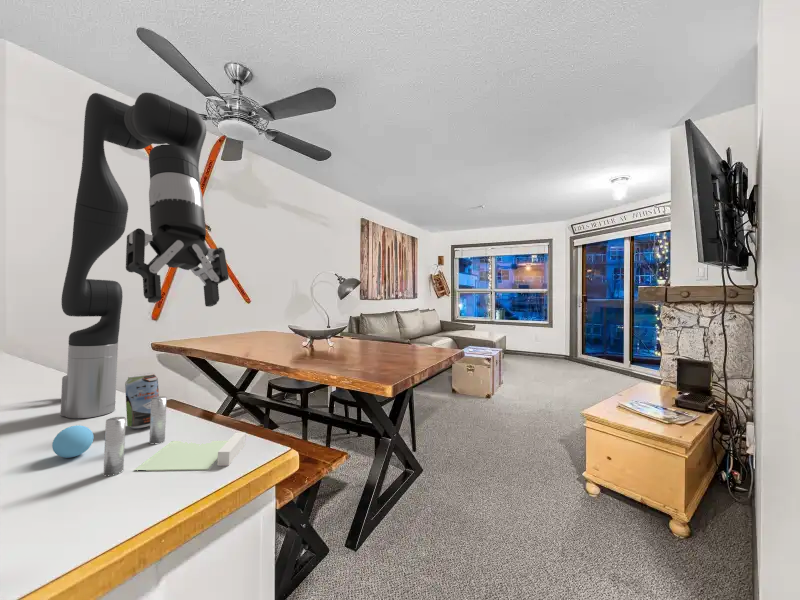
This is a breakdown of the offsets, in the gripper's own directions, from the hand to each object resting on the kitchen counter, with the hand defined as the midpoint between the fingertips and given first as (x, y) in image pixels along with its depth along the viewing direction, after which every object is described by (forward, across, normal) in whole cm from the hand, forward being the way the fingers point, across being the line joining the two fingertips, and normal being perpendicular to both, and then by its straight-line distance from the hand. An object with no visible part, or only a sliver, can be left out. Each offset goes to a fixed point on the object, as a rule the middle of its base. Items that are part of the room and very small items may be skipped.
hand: (184, 303), depth 53 cm
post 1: (+24, 0, -23) cm, 33 cm away
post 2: (+21, -10, -30) cm, 38 cm away
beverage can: (+17, -12, -41) cm, 46 cm away
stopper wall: (+26, -15, -13) cm, 32 cm away
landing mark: (+24, -10, -19) cm, 32 cm away
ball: (+17, +2, -34) cm, 38 cm away
